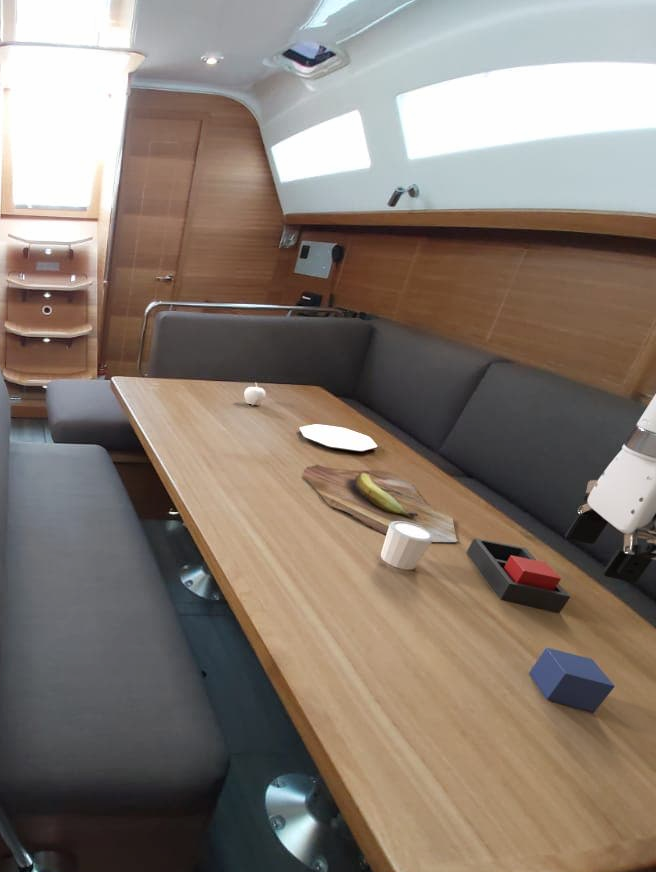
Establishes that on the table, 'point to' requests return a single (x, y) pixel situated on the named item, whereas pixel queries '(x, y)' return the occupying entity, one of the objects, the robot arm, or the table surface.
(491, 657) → the table surface
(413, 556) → the white cup
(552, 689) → the blue block
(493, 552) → the tray
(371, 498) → the cutting board
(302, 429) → the plate
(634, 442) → the robot arm
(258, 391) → the plain white apple
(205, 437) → the table surface
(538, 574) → the red block
